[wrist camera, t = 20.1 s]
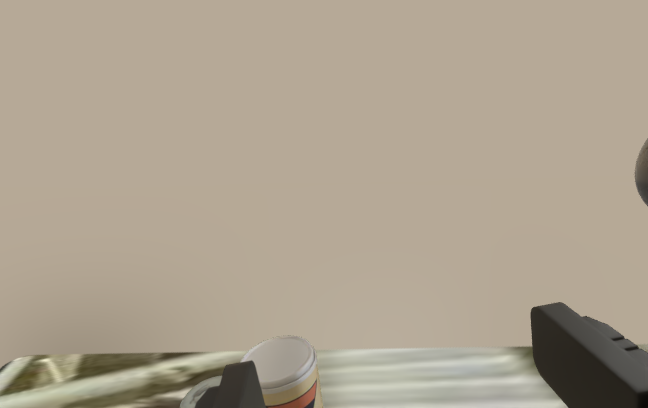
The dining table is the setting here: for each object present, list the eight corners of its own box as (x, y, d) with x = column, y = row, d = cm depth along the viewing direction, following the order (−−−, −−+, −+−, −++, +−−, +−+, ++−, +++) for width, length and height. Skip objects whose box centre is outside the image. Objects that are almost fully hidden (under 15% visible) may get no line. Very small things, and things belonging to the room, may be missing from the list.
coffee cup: (263, 486, 44) (238, 395, 41) (256, 426, 53) (234, 347, 50) (342, 456, 46) (324, 367, 43) (322, 402, 55) (306, 325, 52)
